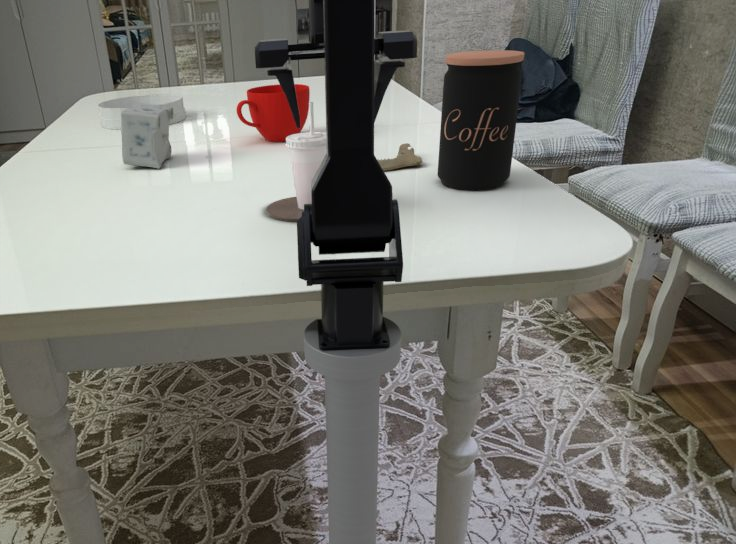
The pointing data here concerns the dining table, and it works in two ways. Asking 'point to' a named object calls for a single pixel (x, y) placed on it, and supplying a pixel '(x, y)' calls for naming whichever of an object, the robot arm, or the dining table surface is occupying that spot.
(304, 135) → the smoothie
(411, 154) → the jawbone
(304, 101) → the ceramic cup
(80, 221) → the dining table surface
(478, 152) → the coffee jar
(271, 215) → the coaster
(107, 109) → the dish
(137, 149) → the incense holder
